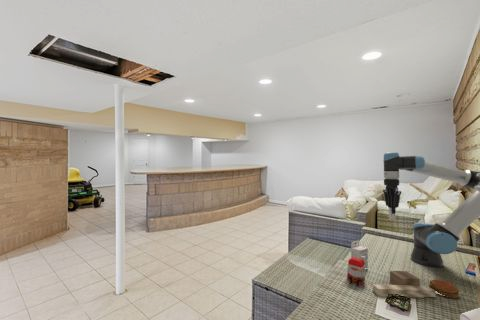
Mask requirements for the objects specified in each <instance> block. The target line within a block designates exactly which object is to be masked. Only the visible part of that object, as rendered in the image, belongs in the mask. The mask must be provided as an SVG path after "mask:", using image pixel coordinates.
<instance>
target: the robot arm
mask: <svg viewBox="0 0 480 320" xmlns="http://www.w3.org/2000/svg"><path fill="white" fill-rule="evenodd" d="M425 160H426V159H425V157H423V156H421V155H399V152H385V153H383V160H382V161H383V178H384V179H383V185H384V186H385V189H382V193H383V195H384V202H385V205H386V207H388V219H389V220H396V209H397V208H399V205H400V200H401V194H402V191H401V190H400V191H399V186H400V170H401V171H407V172H413V173H416V174H421V175H424V176H429V177H433V178H437V179H441V180H445V181H448V182H449V181H450V182H453V183H457V184H459V185H460V186H462V187H465V188H470V189H472V190H474V191H473V192H472V193H471V194H470V195H469V196H468V197H466V199H465V200H464V201H462V203H461V204H460V205H459V206H457V207H456V208H455V209H454V210H453V211H452V212H451V213H450V214H449V215H448V216H447V217H446V218H445V219H444V220H443V221H442V222H436V223H423V222H414V223H413V227H412V229H413V248H412V250H411V253H410V260H411V261H412V262H414V263H417V264H419V265H422V266H427V267H433V268H442V267H444V260H443V258H442V255H449V254H452V253H454V252H456V250H457V247H458V242H459V241H460V240H461V237H460V235H461V234H462V233H463V232H464V231H465V230H466V229H467V228H469V226H471V225H472V224H473V223H474V222H475V221H476V220H477V219H479V217H480V171H476V170H475V171H474V170H470V169H465V170H460V169H457V168H452V167H447V166H443V165H439V164H435V163H430V162H426V161H425Z"/></svg>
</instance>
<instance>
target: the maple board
mask: <svg viewBox="0 0 480 320" xmlns="http://www.w3.org/2000/svg"><path fill="white" fill-rule="evenodd" d="M372 292H373V293H374V294H375V295H377V296H378V297H388V296H387V295H388V294H399V295H403V296H409V297H408V298H424V297H435V298H436V294H435V290H433V289H432V288H430V287H429V285H420V286H417V285H392V284H378V283H377V284H375V283H373V285H372Z"/></svg>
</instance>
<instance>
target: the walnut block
mask: <svg viewBox="0 0 480 320" xmlns="http://www.w3.org/2000/svg"><path fill="white" fill-rule="evenodd" d="M390 282H391V283H392V284H393V285H417V286H421V279H420V278H419V277H417V276H416V275H414V274H413V273H411V272H410V271H409V272H408V271H407V270H389V283H390ZM391 283H390V284H391ZM392 284H391V285H392Z"/></svg>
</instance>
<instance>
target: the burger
mask: <svg viewBox="0 0 480 320" xmlns="http://www.w3.org/2000/svg"><path fill="white" fill-rule="evenodd" d="M428 286H429V287H430V288H432V289H433V290H435V291H437V292H438V293H440V294H442V295H445V296H448V297H447V298H449V297H451V298H450V299H459V298H460V295H459V289H458V288H457V287H456V286H455V284H453V283H451V282H449V281H447V280H443V279H434V278H433V279H432V280H430V281H429V284H428Z"/></svg>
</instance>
